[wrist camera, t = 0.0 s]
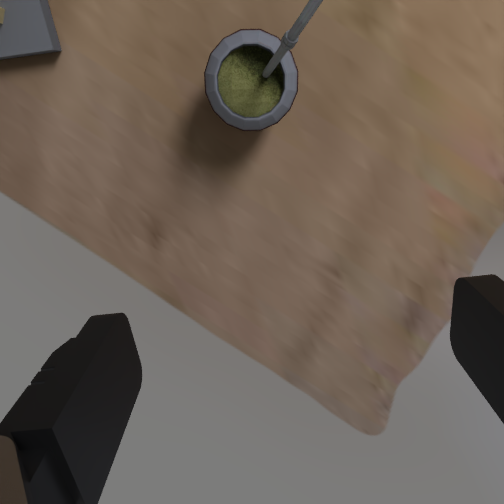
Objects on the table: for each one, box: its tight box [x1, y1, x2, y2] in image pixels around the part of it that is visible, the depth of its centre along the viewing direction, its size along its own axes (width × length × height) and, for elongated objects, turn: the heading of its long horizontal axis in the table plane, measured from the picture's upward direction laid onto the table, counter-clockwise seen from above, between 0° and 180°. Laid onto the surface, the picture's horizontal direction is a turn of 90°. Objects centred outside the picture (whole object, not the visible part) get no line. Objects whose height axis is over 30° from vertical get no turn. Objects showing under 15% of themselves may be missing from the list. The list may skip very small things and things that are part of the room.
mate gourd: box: [204, 0, 323, 131], centre depth 27 cm, size 8×8×15 cm
